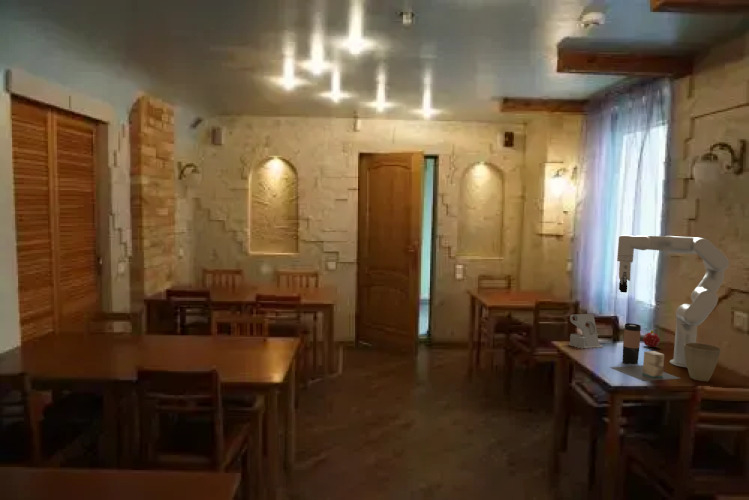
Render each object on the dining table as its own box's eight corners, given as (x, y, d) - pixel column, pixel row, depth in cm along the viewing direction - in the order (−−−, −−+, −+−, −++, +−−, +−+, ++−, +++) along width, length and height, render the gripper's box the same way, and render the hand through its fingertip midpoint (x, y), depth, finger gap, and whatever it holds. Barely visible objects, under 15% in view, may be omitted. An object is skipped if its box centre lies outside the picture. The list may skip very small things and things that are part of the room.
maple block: (652, 373, 269) (654, 351, 268) (662, 377, 263) (664, 354, 263) (642, 374, 267) (644, 351, 266) (652, 378, 261) (654, 354, 261)
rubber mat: (645, 366, 284) (645, 365, 284) (680, 379, 263) (681, 378, 263) (609, 368, 277) (609, 367, 277) (643, 382, 256) (643, 381, 256)
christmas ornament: (639, 345, 330) (640, 329, 329) (649, 344, 333) (651, 328, 333) (652, 349, 322) (653, 332, 321) (662, 348, 326) (663, 331, 325)
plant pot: (674, 375, 270) (676, 342, 268) (700, 374, 273) (702, 342, 272) (698, 385, 255) (701, 350, 254) (725, 384, 258) (728, 350, 257)
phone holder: (579, 348, 316) (581, 317, 315) (567, 344, 326) (569, 314, 324) (603, 347, 322) (605, 316, 321) (591, 343, 332) (593, 313, 330)
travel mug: (638, 362, 291) (641, 324, 290) (638, 365, 285) (641, 327, 283) (622, 360, 295) (624, 322, 293) (621, 363, 288) (624, 325, 286)
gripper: (634, 260, 284) (632, 293, 285) (631, 258, 300) (629, 289, 301) (618, 259, 286) (616, 292, 288) (616, 257, 303) (614, 288, 304)
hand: (622, 291), depth 295 cm, fingers open, 9 cm apart
